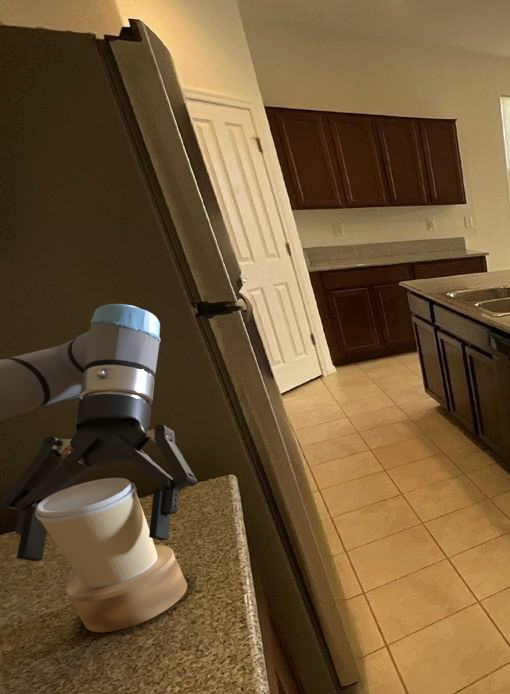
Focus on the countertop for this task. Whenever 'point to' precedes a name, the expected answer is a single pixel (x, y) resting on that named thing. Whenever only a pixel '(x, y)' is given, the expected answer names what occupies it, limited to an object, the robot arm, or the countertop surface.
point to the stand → (129, 595)
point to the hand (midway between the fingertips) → (95, 548)
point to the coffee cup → (100, 530)
